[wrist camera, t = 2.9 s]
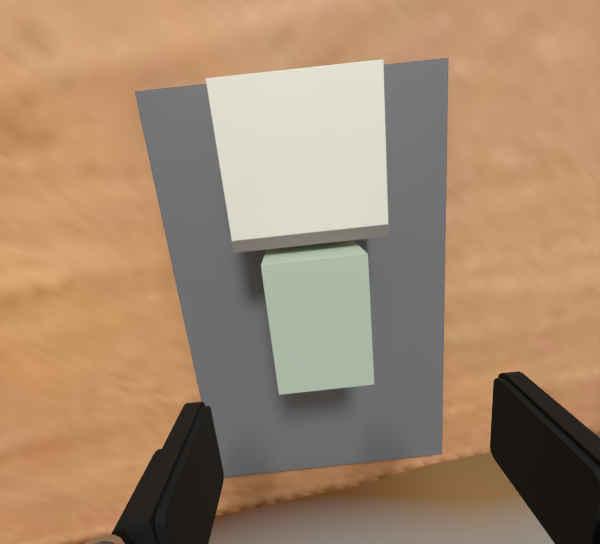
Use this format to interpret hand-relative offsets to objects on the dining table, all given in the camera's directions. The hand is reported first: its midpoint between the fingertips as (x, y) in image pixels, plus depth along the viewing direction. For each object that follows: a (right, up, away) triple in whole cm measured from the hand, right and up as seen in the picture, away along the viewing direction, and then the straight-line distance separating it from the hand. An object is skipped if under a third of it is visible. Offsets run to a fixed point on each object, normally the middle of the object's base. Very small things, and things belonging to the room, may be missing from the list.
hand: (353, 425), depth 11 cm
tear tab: (-1, +4, +11) cm, 12 cm away
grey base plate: (-1, +3, +13) cm, 14 cm away
